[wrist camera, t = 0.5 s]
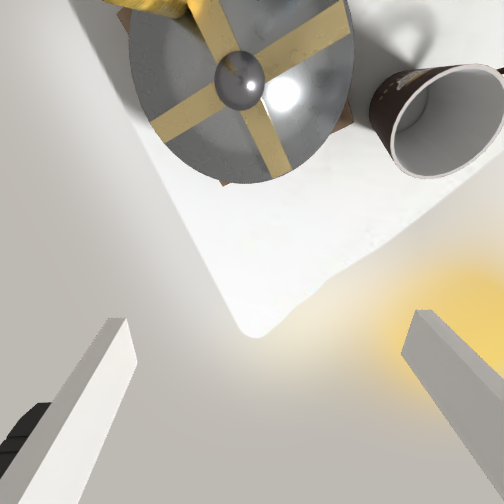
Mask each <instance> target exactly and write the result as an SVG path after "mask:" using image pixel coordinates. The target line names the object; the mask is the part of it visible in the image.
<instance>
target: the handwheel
mask: <svg viewBox="0 0 504 504" xmlns="http://www.w3.org/2000/svg"><path fill="white" fill-rule="evenodd" d="M103 1H105V2H107V3H110V4H114V5H119V6H123V7H127V8H131V9H132V14H131V19H130V31H129V55H130V63H131V70H132V76H133V80H134V84H135V88H136V92H137V94H138V97H139V100H140V103H141V105H142V108H143V110H144V112H145V114H146V116H147V118H148V120H149V122H150V124H151V125H152V127H153V128H154V130H155V132H156V133H157V134H158V136H159V137H160V138H161V140H162V141H163V143H164V144H165V145H166V146H167V147H168V148H169V149H170V150H171V151H172V152H173V153H174V154H175V155H176V156H177V157H178V158H180V159H181V160H182V161H183V162H184V163H186V164H187V165H189V166H190V167H192V168H193V169H195V170H197V171H198V172H200V173H202V174H204V175H206V176H209V177H212V178H214V179H217V180H221V181H225V182H230V183H239V184H251V183H259V182H264V181H268V180H272V179H275V178H278V177H280V176H283V175H285V174H287V173H289V172H290V171H292V170H294V169H296V168H297V167H299V166H300V165H301V164H303V163H304V162H305V161H307V160H308V159H309V158H310V157H311V156H312V155H313V154H314V153H315V152H316V151H317V150H318V149H319V148H320V147H321V146H322V144H323V143H324V142H325V140H326V139H327V138H328V136H329V135H330V133H331V132H332V130H333V128H334V127H335V125H336V123H337V121H338V119H339V117H340V115H341V113H342V110H343V108H344V105H345V103H346V99H347V96H348V92H349V89H350V85H351V79H352V73H353V64H354V32H353V26H352V20H351V13H350V10H349V6H348V3H347V0H103Z"/></svg>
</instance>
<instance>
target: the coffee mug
mask: <svg viewBox="0 0 504 504" xmlns="http://www.w3.org/2000/svg"><path fill="white" fill-rule="evenodd" d="M501 74H504V68H501V69H497V70H495V69H493V68H491V67H489V66H487V65H481V64H465V65H455V66H446V67H436V68H427V69H418V70H408V71H402V72H399V73H397V74H394V75H392V76H391V77H389V78H388V79H387V80H385V81H384V82H383V83H382V84H381V85H380V87H379V88H378V89H377V90H376V92H375V94H374V96H373V98H372V100H371V103H370V108H369V118H370V122H371V124H372V126H373V128H374V130H375V131H376V133H377V135H378V136H379V138H380V140H381V141H382V143H383V144H384V146H385V148H386V149H387V151H388V153H389V154H390V156H391V158H392V159H393V161H394V162H395V164H396V165H397V166H398V168H399V169H400V170H401V171H403V172H404V173H405V174H407V175H409V176H412V177H414V178H420V179H434V178H438V177H443V176H446V175H449V174H452V173H454V172H456V171H458V170H460V169H462V168H464V167H465V166H467V165H468V164H470V163H471V162H473V161H474V160H475V159H477V158H478V157H479V156H480V155H481V154H482V153H483V152H484V151H485V150H486V149H487V148H488V147H489V146H490V145H491V144H492V142H493V141H494V140H495V138H496V137H497V135H498V134H499V132H500V131H501V129H502V127H503V124H504V77H503V76H502V75H501Z"/></svg>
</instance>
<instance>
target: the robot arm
mask: <svg viewBox="0 0 504 504" xmlns="http://www.w3.org/2000/svg"><path fill="white" fill-rule="evenodd" d="M401 355H402V356H403V358H404V359H405V361H406V362H407V364H408V365H409V366H410V368H411V369H412V371H413V372H414V374H415V375H416V376H417V378H418V379H419V380H420V382H421V384H422V385H423V386H424V388H425V389H426V391H427V392H428V394H429V395H430V396H431V398H432V399H433V401H434V402H435V403H436V405H437V406H438V408H439V409H440V411H441V412H442V413H443V415H444V416H445V418H446V419H447V420H448V422H449V423H450V425H451V426H452V428H453V429H454V431H455V432H456V433H457V435H458V436H459V438H460V439H461V440H462V442H463V443H464V445H465V446H466V447H467V449H468V450H469V452H470V453H471V455H472V456H473V458H474V459H475V460H476V462H477V463H478V465H479V466H480V468H481V469H482V470H483V472H484V473H485V475H486V476H487V478H488V479H489V480H490V482H491V483H492V485H493V486H494V488H495V489H496V490H497V492H498V493H499V495H500V496H501V497H502V499H503V500H504V380H503V378H501V376H499V375H498V374H497V373H496V372H495V371H494V370H493V369H492V368H491V367H490V366H489V365H488V364H487V363H486V362H485V361H484V360H483V359H482V358H481V357H480V356H479V355H478V354H477V353H476V352H475V351H474V350H473V349H471V348H470V347H469V346H468V345H467V344H466V343H465V342H464V341H463V340H462V339H461V338H460V337H459V336H458V335H457V334H456V333H455V332H454V331H453V330H452V329H451V328H450V327H449V326H448V325H447V324H446V323H445V322H444V321H442V319H441V318H440V317H438V316H437V315H436V314H435V313H434V312H433V311H432V310H415V313H414V316H413V319H412V322H411V325H410V328H409V331H408V334H407V337H406V340H405V343H404V346H403V349H402V352H401ZM137 363H138V362H137V358H136V354H135V351H134V347H133V343H132V338H131V335H130V331H129V327H128V323H127V319H126V318H108V320H107V321H106V323H105V324H104V326H103V327H102V329H101V330H100V332H99V333H98V335H97V336H96V337H95V339H94V341H93V342H92V343H91V345H90V347H89V348H88V349H87V351H86V353H85V354H84V355H83V357H82V359H81V360H80V361H79V363H78V364H77V366H76V367H75V369H74V370H73V372H72V373H71V375H70V376H69V378H68V379H67V381H66V382H65V384H64V385H63V387H62V388H61V390H60V391H59V393H58V394H57V396H56V397H55V399H54V400H53V402H51V403H50V402H49V403H37V404H36V405H35V406H34V407H33V408H32V409H30V410H29V411H28V412H27V413H26V414H25V415H24V416H22V417H21V418H20V420H19V421H18V422H17V423H16V425H15V426H14V428H13V429H12V430H11V432H10V433H9V434H8V436H7V439H6V440H4V441H3V442H2V444H1V445H0V504H78V502H79V500H80V497H81V495H82V493H83V490H84V488H85V485H86V483H87V481H88V478H89V476H90V474H91V471H92V469H93V466H94V464H95V462H96V459H97V457H98V455H99V452H100V450H101V448H102V445H103V443H104V441H105V438H106V436H107V434H108V431H109V429H110V427H111V424H112V422H113V419H114V417H115V415H116V412H117V410H118V408H119V405H120V403H121V400H122V398H123V396H124V394H125V391H126V389H127V386H128V384H129V382H130V379H131V377H132V375H133V372H134V370H135V368H136V365H137Z"/></svg>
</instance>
